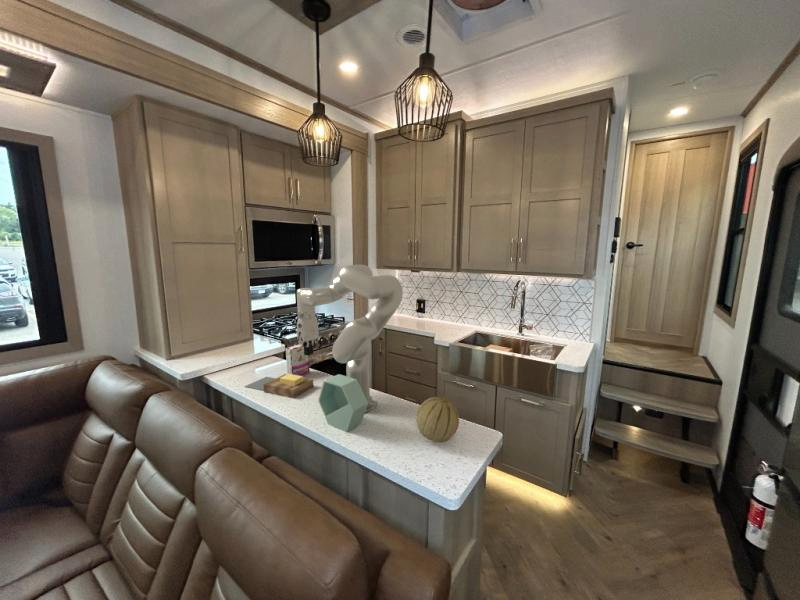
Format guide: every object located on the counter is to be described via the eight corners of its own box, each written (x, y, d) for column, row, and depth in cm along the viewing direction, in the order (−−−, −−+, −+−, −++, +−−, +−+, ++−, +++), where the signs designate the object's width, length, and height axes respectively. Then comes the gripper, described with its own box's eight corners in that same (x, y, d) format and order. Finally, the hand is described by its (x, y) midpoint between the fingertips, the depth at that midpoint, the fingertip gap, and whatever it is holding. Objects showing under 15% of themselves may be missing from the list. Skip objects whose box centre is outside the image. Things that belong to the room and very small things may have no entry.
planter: (333, 437, 124) (312, 387, 128) (348, 428, 130) (327, 381, 134) (360, 426, 114) (335, 372, 119) (374, 417, 120) (351, 366, 125)
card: (303, 381, 158) (303, 376, 157) (294, 385, 152) (294, 380, 152) (289, 378, 161) (288, 373, 161) (280, 383, 156) (279, 378, 155)
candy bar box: (304, 371, 183) (302, 342, 181) (310, 373, 180) (308, 344, 178) (286, 377, 174) (285, 347, 172) (292, 379, 171) (290, 349, 169)
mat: (286, 380, 169) (286, 380, 169) (265, 391, 156) (265, 390, 156) (266, 377, 175) (266, 376, 175) (244, 386, 162) (244, 386, 162)
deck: (313, 386, 161) (313, 379, 160) (293, 398, 148) (293, 390, 148) (285, 381, 168) (284, 374, 167) (264, 392, 155) (263, 384, 155)
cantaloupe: (407, 438, 115) (407, 398, 113) (434, 423, 125) (434, 385, 123) (441, 456, 104) (441, 412, 102) (467, 438, 114) (467, 397, 112)
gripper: (301, 318, 139) (303, 360, 142) (323, 313, 153) (325, 350, 156) (288, 317, 142) (290, 358, 145) (311, 312, 156) (312, 349, 159)
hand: (308, 354), depth 150 cm, fingers closed
